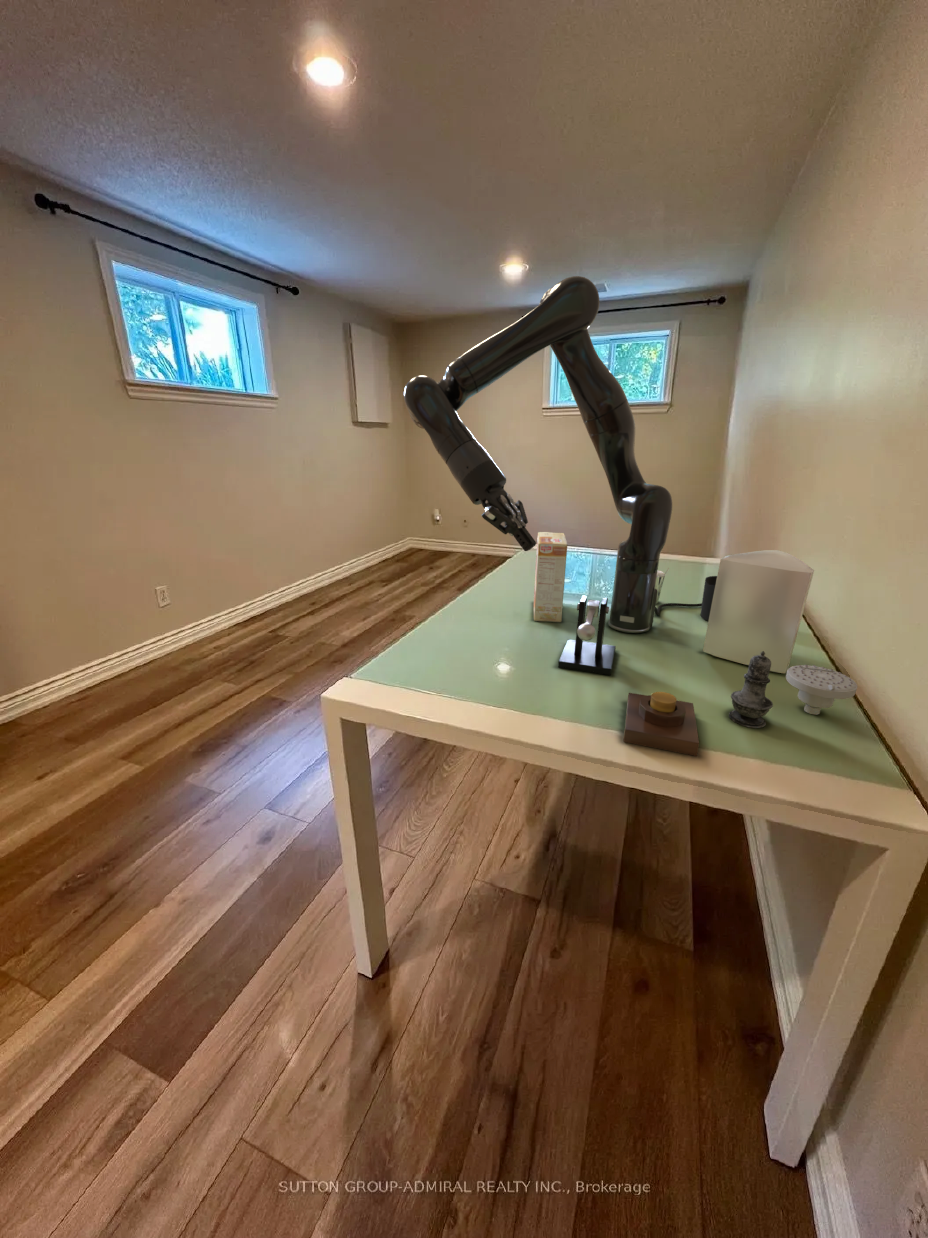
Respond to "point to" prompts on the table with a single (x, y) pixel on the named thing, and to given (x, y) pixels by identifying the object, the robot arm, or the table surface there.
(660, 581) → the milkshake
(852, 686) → the showerhead
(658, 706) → the button
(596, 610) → the lever
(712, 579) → the pen holder
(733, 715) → the salt shaker
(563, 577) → the coffeecake box
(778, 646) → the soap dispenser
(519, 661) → the table surface
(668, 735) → the button block
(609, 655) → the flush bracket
